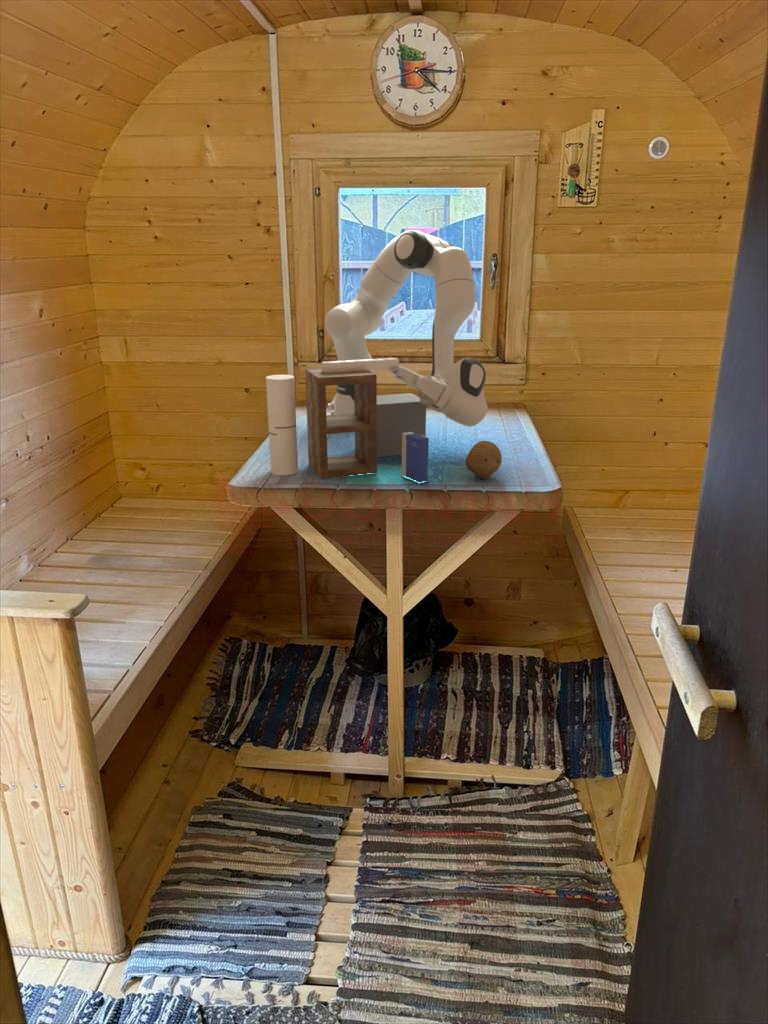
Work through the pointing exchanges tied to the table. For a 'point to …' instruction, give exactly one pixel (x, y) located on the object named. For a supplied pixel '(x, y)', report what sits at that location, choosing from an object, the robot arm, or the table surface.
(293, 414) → the cylindrical container
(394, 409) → the block
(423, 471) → the walkman
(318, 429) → the walnut shelf
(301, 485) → the table surface
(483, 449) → the natural sponge
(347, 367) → the tan bar
